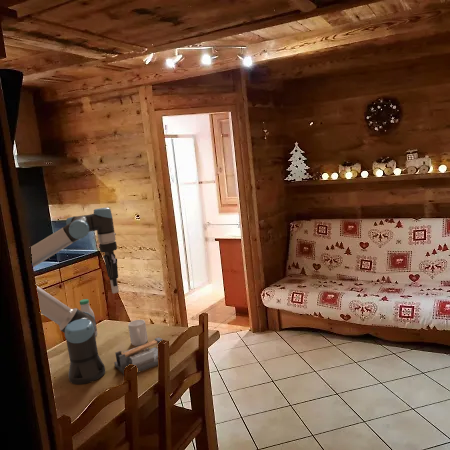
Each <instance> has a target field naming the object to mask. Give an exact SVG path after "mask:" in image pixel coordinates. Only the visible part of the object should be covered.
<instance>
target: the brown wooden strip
mask: <svg viewBox="0 0 450 450" xmlns="http://www.w3.org/2000/svg"><path fill="white" fill-rule="evenodd" d="M155 345H158V342H157V341H155V339H154V340H151V341H148V342H146V343H145V344H143V345H139V346H136V347H137V348H136V347H133V348H134V349H133V348H131V349H132V350H130V349H129V350H130V351H128V350H126V351H127V352H125V351H124V352H125V353H123V352H121V353H122V354H125V357H127V356H130V355H132V354H134V353H137V352H139V351H141V350H144V349H146V348H151V347H154V346H155ZM122 354H121V355H122ZM119 356H120V354H119V355H118V357H119Z"/></svg>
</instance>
